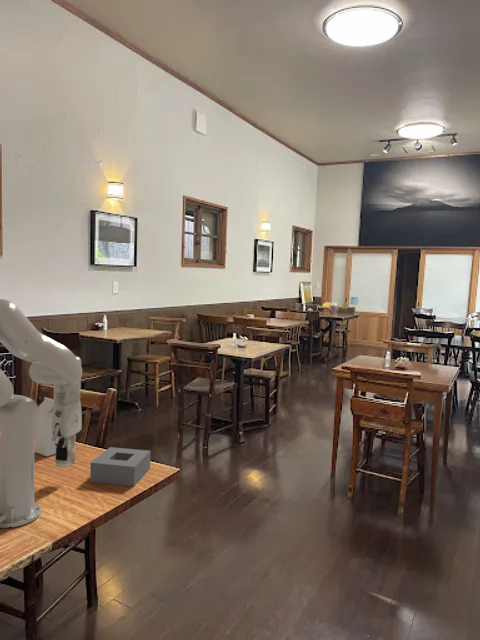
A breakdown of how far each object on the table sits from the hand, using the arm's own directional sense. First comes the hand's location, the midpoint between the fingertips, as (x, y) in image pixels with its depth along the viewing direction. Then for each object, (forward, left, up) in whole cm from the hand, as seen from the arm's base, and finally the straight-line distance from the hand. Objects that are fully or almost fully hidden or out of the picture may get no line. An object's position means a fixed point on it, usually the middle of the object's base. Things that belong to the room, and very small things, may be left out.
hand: (65, 456), depth 145 cm
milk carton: (+22, +18, -8) cm, 30 cm away
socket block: (+9, -14, -8) cm, 18 cm away
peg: (0, 0, -2) cm, 2 cm away
